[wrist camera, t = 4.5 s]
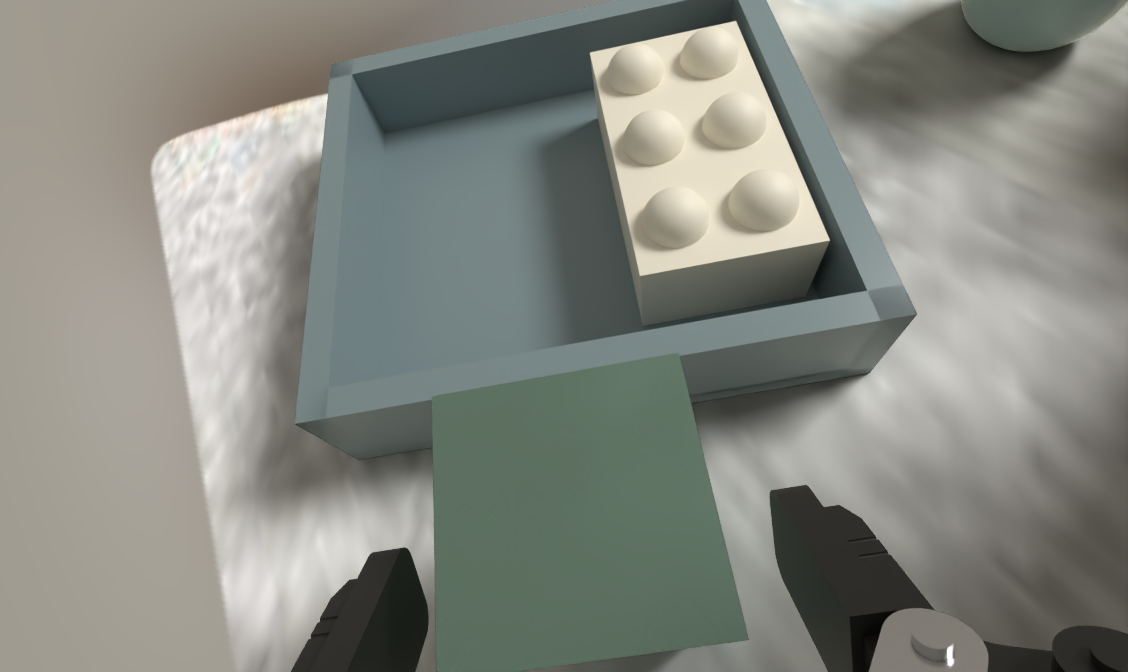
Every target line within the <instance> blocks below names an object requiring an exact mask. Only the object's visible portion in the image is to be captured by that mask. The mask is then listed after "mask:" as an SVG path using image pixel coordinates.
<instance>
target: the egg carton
mask: <svg viewBox="0 0 1128 672" xmlns="http://www.w3.org/2000/svg"><path fill="white" fill-rule="evenodd" d="M590 59H591V67H592V75H593V83H594V91H595V99H596V108H597V116H598V121H599V126H600V131H601V135H602V140H603V144H604V149H605V154H606V158H607V163H608V167H609V172H610V177H611V181H612V186H613V190H614V195H615V200H616V204H617V209H618V213H619V218H620V223H621V227H622V232H623V237H624V241H625V246H626V250H627V255H628V260H629V264H630V269H631V273H632V278H633V283H634V287H635V292H636V296H637V301H638V306H639V310H640V315H641V319H642V324H643V326H645V325H651V324H656V323H662V322H667V321H673V320H678V319H684V318H689V317H695V316H701V315H706V314H712V313H717V312H723V311H728V310H734V309H739V308H745V307H750V306H756V305H761V304H767V303H772V302H778V301H783V300H789V299H794V298H800V297H805V296H806V294H807V292H808V290H809V288H810V285H811V283H812V281H813V278H814V276H815V274H816V271H817V269H818V267H819V264H820V262H821V260H822V258H823V255H824V253H825V251H826V248H827V246H828V244H829V241H830V239H829V237H828V235H827V232H826V230H825V228H824V225H823V223H822V221H821V218H820V216H819V214H818V211H817V209H816V207H815V204H814V202H813V200H812V197H811V195H810V193H809V190H808V188H807V186H806V183H805V181H804V179H803V176H802V174H801V172H800V169H799V167H798V165H797V162H796V160H795V158H794V155H793V153H792V151H791V148H790V146H789V144H788V141H787V139H786V137H785V134H784V132H783V130H782V127H781V125H780V123H779V120H778V118H777V116H776V113H775V111H774V109H773V106H772V104H771V102H770V99H769V97H768V95H767V92H766V90H765V88H764V85H763V83H762V81H761V78H760V76H759V74H758V71H757V69H756V67H755V64H754V62H753V60H752V57H751V55H750V53H749V50H748V48H747V46H746V43H745V41H744V39H743V36H742V34H741V31H740V29H739V27H738V24H737V22H736V21H733V22H729V23H724V24H719V25H715V26H710V27H706V28H701V29H696V30H692V31H687V32H683V33H678V34H673V35H669V36H664V37H660V38H655V39H650V40H646V41H641V42H637V43H632V44H627V45H623V46H618V47H614V48H609V49H604V50H600V51H595V52H591V53H590Z"/></svg>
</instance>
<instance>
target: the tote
mask: <svg viewBox="0 0 1128 672" xmlns="http://www.w3.org/2000/svg"><path fill="white" fill-rule="evenodd" d="M733 21H736V22H737V24H738V27H739V29H740V31H741V34H742V36H743V39H744V41H745V43H746V46H747V48H748V50H749V53H750V55H751V57H752V60H753V62H754V64H755V67H756V69H757V71H758V74H759V76H760V78H761V81H762V83H763V85H764V88H765V90H766V92H767V95H768V97H769V99H770V102H771V104H772V106H773V109H774V111H775V113H776V116H777V118H778V120H779V123H780V125H781V127H782V130H783V132H784V134H785V137H786V139H787V141H788V144H789V146H790V148H791V151H792V153H793V155H794V158H795V160H796V162H797V165H798V167H799V169H800V172H801V174H802V176H803V179H804V181H805V183H806V186H807V188H808V190H809V193H810V195H811V197H812V200H813V202H814V204H815V207H816V209H817V211H818V214H819V216H820V218H821V221H822V223H823V225H824V228H825V230H826V232H827V235H828V237H829V239H830V241H829V244H828V246H827V248H826V251H825V253H824V255H823V258H822V260H821V262H820V264H819V267H818V269H817V271H816V274H815V276H814V278H813V281H812V283H811V285H810V288H809V290H808V292H807V294H806V296H805V297H800V298H794V299H789V300H783V301H778V302H772V303H767V304H761V305H756V306H750V307H745V308H739V309H734V310H728V311H723V312H717V313H712V314H706V315H701V316H695V317H689V318H684V319H678V320H673V321H667V322H662V323H656V324H651V325H645V326H643V324H642V319H641V315H640V310H639V306H638V301H637V296H636V292H635V287H634V283H633V278H632V273H631V269H630V264H629V260H628V255H627V250H626V246H625V241H624V237H623V232H622V227H621V223H620V218H619V213H618V209H617V204H616V200H615V195H614V190H613V186H612V181H611V177H610V172H609V167H608V163H607V158H606V154H605V149H604V144H603V140H602V135H601V131H600V126H599V121H598V116H597V108H596V99H595V91H594V83H593V75H592V67H591V59H590V53H591V52H595V51H600V50H604V49H609V48H614V47H618V46H623V45H627V44H632V43H637V42H641V41H646V40H650V39H655V38H660V37H664V36H669V35H673V34H678V33H683V32H687V31H692V30H696V29H701V28H706V27H710V26H715V25H719V24H724V23H729V22H733ZM916 315H917V313H916V310H915V308H914V306H913V304H912V302H911V300H910V298H909V296H908V294H907V292H906V290H905V288H904V286H903V283H902V281H901V279H900V277H899V275H898V273H897V271H896V269H895V267H894V265H893V263H892V261H891V259H890V256H889V254H888V252H887V250H886V248H885V246H884V244H883V242H882V240H881V238H880V236H879V234H878V232H877V229H876V227H875V225H874V223H873V221H872V219H871V217H870V215H869V213H868V211H867V209H866V207H865V205H864V202H863V200H862V198H861V196H860V194H859V192H858V190H857V188H856V186H855V184H854V182H853V180H852V178H851V175H850V173H849V171H848V169H847V167H846V165H845V163H844V161H843V159H842V157H841V155H840V153H839V151H838V148H837V146H836V144H835V142H834V140H833V138H832V136H831V134H830V132H829V130H828V128H827V126H826V123H825V121H824V119H823V117H822V115H821V113H820V111H819V109H818V107H817V105H816V103H815V101H814V99H813V96H812V94H811V92H810V90H809V88H808V86H807V84H806V82H805V80H804V78H803V76H802V74H801V72H800V69H799V67H798V65H797V63H796V61H795V59H794V57H793V55H792V53H791V51H790V49H789V47H788V45H787V42H786V40H785V38H784V36H783V34H782V32H781V30H780V28H779V26H778V24H777V22H776V20H775V18H774V15H773V13H772V11H771V9H770V7H769V5H768V3H767V1H766V0H616V1H611V2H607V3H602V4H598V5H593V6H589V7H584V8H580V9H575V10H571V11H566V12H562V13H558V14H553V15H549V16H544V17H540V18H535V19H531V20H526V21H522V22H517V23H513V24H508V25H504V26H499V27H495V28H491V29H486V30H481V31H477V32H473V33H468V34H464V35H459V36H455V37H450V38H446V39H441V40H437V41H433V42H428V43H424V44H419V45H415V46H410V47H405V48H401V49H397V50H392V51H388V52H383V53H379V54H374V55H370V56H365V57H361V58H356V59H352V60H348V61H343V62H338V63H334V64H331V71H330V81H329V91H328V100H327V110H326V120H325V130H324V140H323V149H322V159H321V169H320V179H319V189H318V198H317V208H316V218H315V228H314V238H313V247H312V257H311V267H310V277H309V287H308V296H307V306H306V316H305V326H304V336H303V345H302V355H301V365H300V375H299V385H298V394H297V404H296V414H295V424H296V425H297V426H299V427H301V428H303V429H305V430H306V431H308V432H310V433H312V434H313V435H315V436H317V437H319V438H320V439H322V440H324V441H326V442H328V443H329V444H331V445H333V446H335V447H336V448H338V449H340V450H342V451H343V452H345V453H347V454H349V455H351V456H352V457H354V458H356V459H358V460H361V459H367V458H372V457H378V456H384V455H390V454H396V453H402V452H408V451H414V450H420V449H425V448H431V447H433V437H432V396H436V395H441V394H447V393H453V392H458V391H464V390H470V389H475V388H481V387H487V386H492V385H498V384H504V383H509V382H515V381H521V380H526V379H532V378H538V377H543V376H549V375H555V374H560V373H566V372H572V371H577V370H583V369H589V368H594V367H600V366H606V365H611V364H617V363H623V362H628V361H634V360H640V359H645V358H651V357H656V356H662V355H668V354H673V353H679V356H680V360H681V364H682V369H683V373H684V377H685V381H686V385H687V389H688V393H689V397H690V401H691V403H696V402H702V401H708V400H714V399H720V398H726V397H731V396H737V395H743V394H749V393H755V392H761V391H767V390H773V389H778V388H784V387H790V386H796V385H802V384H808V383H814V382H820V381H826V380H831V379H837V378H843V377H849V376H855V375H861V374H867V373H870V372H871V370H872V369H873V368H874V367H875V366H876V364H877V363H878V362H879V361H880V359H881V358H882V357H883V356H884V354H885V353H886V352H887V351H888V349H889V348H890V347H891V346H892V345H893V343H894V342H895V341H896V340H897V338H898V337H899V336H900V335H901V333H902V332H903V331H904V330H905V329H906V327H907V326H908V325H909V324H910V322H911V321H912V320H913V319H914V317H915V316H916Z"/></svg>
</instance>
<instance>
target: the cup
mask: <svg viewBox="0 0 1128 672" xmlns="http://www.w3.org/2000/svg"><path fill="white" fill-rule="evenodd" d="M1126 5H1128V0H961V7H962V11H963V14H964V17H965V19H966V21H967V23H968V24H969V26H970V27H971V29H972V30H973V31H974V32H975V33H976V34H977V35H979V36H980V37H981V38H983V39H984V40H985V41H987V42H988V43H990V44H992V45H994V46H996V47H999V48H1002V49H1006V50H1011V51H1019V52H1032V51H1044V50H1049V49H1055V48H1058V47H1061V46H1064V45H1067V44H1070V43H1073V42H1075V41H1077V40H1080V39H1082V38H1084V37H1086V36H1087V35H1089V34H1091V33H1093V32H1094V31H1096V30H1097V29H1099V28H1100V27H1101V26H1103V25H1104V24H1105V23H1107V22H1108V21H1109V20H1110V19H1112V18H1113V17H1114V16H1116V15H1117V14H1118V13H1119V12H1120V11H1121V10H1122V9H1123V8H1124V7H1125V6H1126Z"/></svg>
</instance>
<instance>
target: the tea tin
mask: <svg viewBox="0 0 1128 672" xmlns="http://www.w3.org/2000/svg"><path fill="white" fill-rule="evenodd" d="M432 437H433V497H434V557H435V617H436V672H520V671H528V670H535V669H542V668H549V667H557V666H564V665H571V664H578V663H585V662H593V661H600V660H607V659H614V658H621V657H629V656H636V655H643V654H650V653H658V652H665V651H672V650H679V649H686V648H694V647H701V646H708V645H715V644H722V643H730V642H737V641H744V640H749V638H748V634H747V630H746V626H745V622H744V618H743V614H742V610H741V606H740V601H739V597H738V593H737V589H736V585H735V581H734V577H733V573H732V569H731V565H730V561H729V557H728V552H727V548H726V544H725V540H724V536H723V532H722V528H721V524H720V520H719V516H718V512H717V508H716V503H715V499H714V495H713V491H712V487H711V483H710V479H709V475H708V471H707V467H706V463H705V458H704V454H703V450H702V446H701V442H700V438H699V434H698V430H697V426H696V422H695V418H694V414H693V409H692V405H691V401H690V397H689V393H688V389H687V385H686V381H685V377H684V373H683V369H682V364H681V360H680V356H679V353H673V354H668V355H662V356H656V357H651V358H645V359H640V360H634V361H628V362H623V363H617V364H611V365H606V366H600V367H594V368H589V369H583V370H577V371H572V372H566V373H560V374H555V375H549V376H543V377H538V378H532V379H526V380H521V381H515V382H509V383H504V384H498V385H492V386H487V387H481V388H475V389H470V390H464V391H458V392H453V393H447V394H441V395H436V396H432Z"/></svg>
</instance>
